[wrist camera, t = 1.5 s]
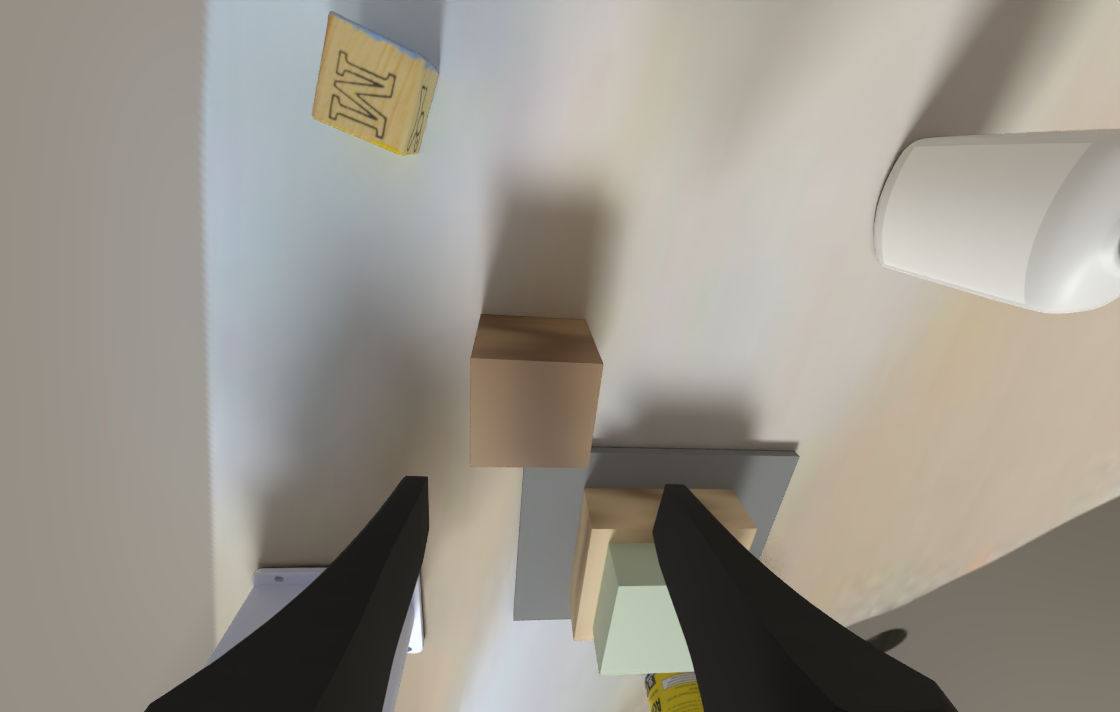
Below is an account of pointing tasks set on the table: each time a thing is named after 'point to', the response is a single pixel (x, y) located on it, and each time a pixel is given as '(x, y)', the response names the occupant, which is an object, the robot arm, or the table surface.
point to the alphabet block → (373, 87)
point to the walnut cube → (533, 392)
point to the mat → (560, 490)
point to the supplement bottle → (673, 692)
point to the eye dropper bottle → (1008, 217)
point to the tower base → (631, 537)
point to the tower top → (637, 616)
